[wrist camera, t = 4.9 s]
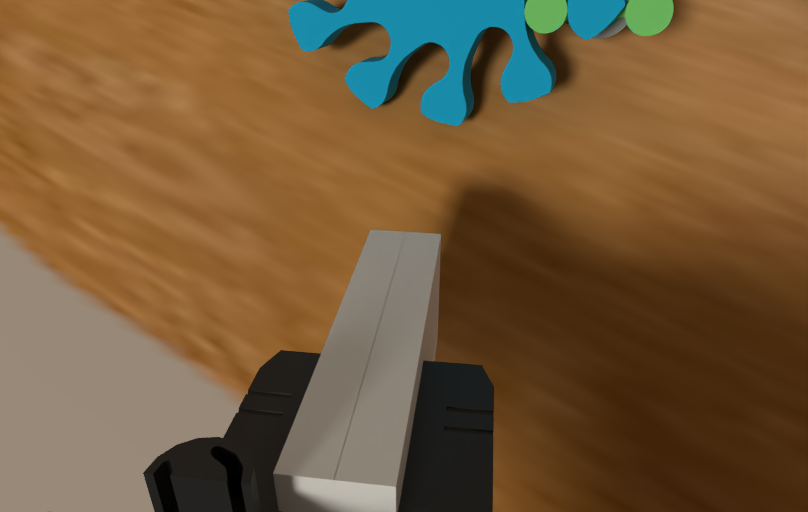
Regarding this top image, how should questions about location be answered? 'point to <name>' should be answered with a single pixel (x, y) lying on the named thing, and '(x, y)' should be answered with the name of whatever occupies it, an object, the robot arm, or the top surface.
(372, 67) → the gear
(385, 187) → the top surface
